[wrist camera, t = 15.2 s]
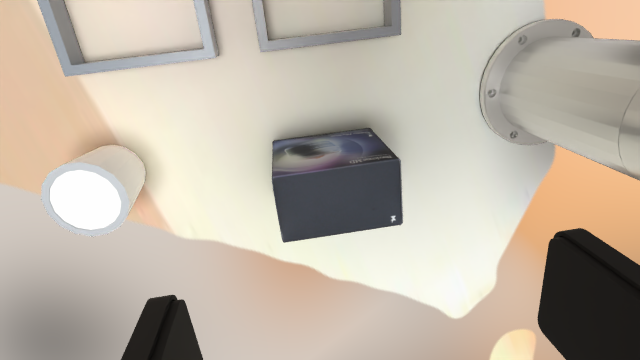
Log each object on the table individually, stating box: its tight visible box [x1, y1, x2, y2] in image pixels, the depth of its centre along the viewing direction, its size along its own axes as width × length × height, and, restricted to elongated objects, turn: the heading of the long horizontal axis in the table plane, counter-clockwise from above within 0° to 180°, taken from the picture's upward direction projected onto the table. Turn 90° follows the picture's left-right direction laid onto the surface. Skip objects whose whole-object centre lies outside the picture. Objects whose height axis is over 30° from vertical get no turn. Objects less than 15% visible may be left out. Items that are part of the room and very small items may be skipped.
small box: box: [272, 128, 403, 243], centre depth 36 cm, size 11×6×10 cm, turn 96°
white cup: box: [41, 145, 146, 236], centre depth 35 cm, size 7×7×7 cm
